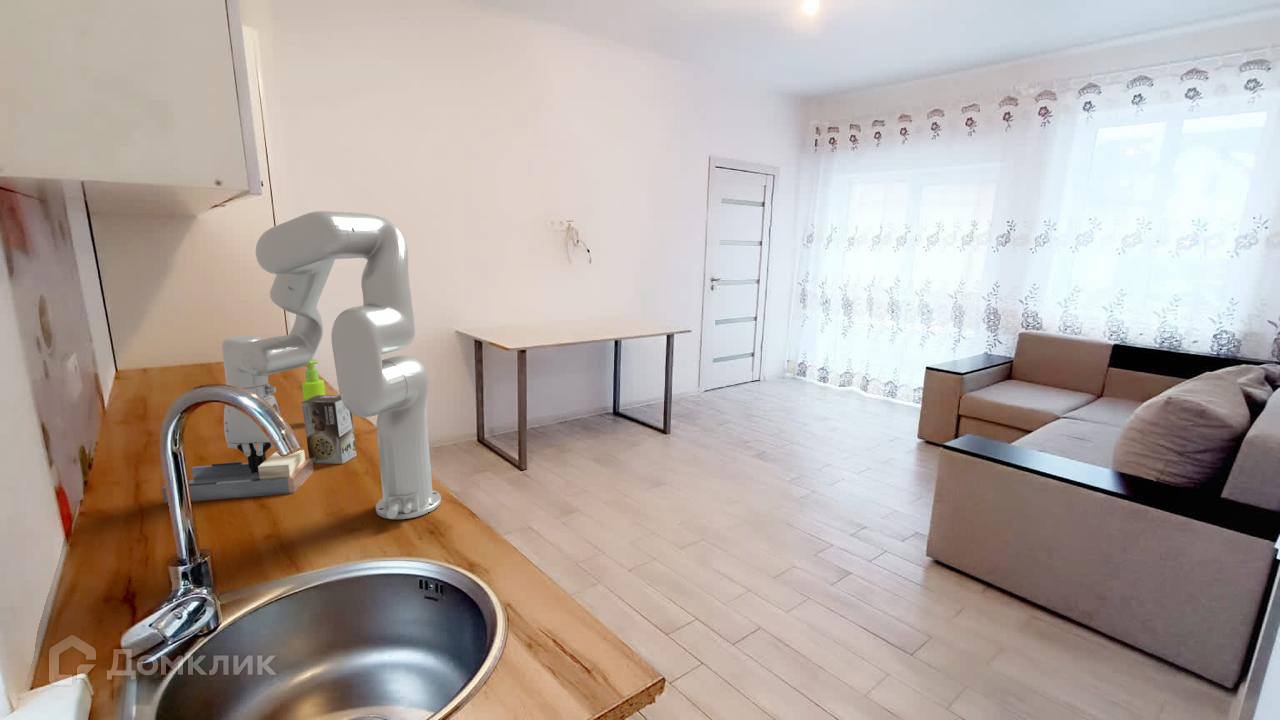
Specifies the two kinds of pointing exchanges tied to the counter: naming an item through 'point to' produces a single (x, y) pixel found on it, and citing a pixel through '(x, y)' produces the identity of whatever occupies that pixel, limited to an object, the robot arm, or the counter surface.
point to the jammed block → (281, 465)
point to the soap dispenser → (312, 382)
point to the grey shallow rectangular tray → (241, 481)
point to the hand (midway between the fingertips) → (258, 470)
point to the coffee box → (328, 430)
